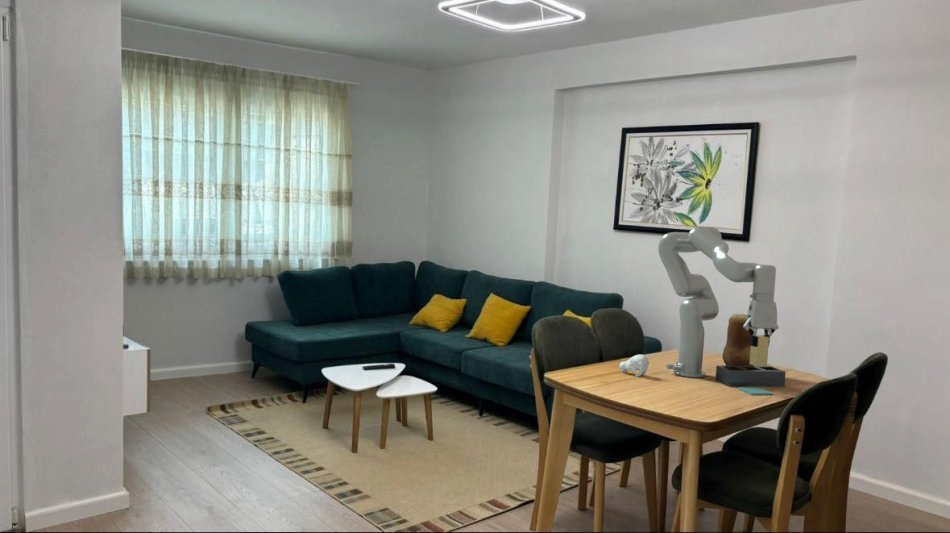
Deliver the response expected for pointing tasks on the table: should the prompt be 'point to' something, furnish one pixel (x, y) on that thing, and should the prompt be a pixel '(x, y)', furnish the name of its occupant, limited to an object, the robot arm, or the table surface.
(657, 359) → the table surface
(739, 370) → the graphite rack rail
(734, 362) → the butternut squash
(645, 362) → the white animal figurine
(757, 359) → the tan rectangular block
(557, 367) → the table surface
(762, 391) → the teal rubber mat
